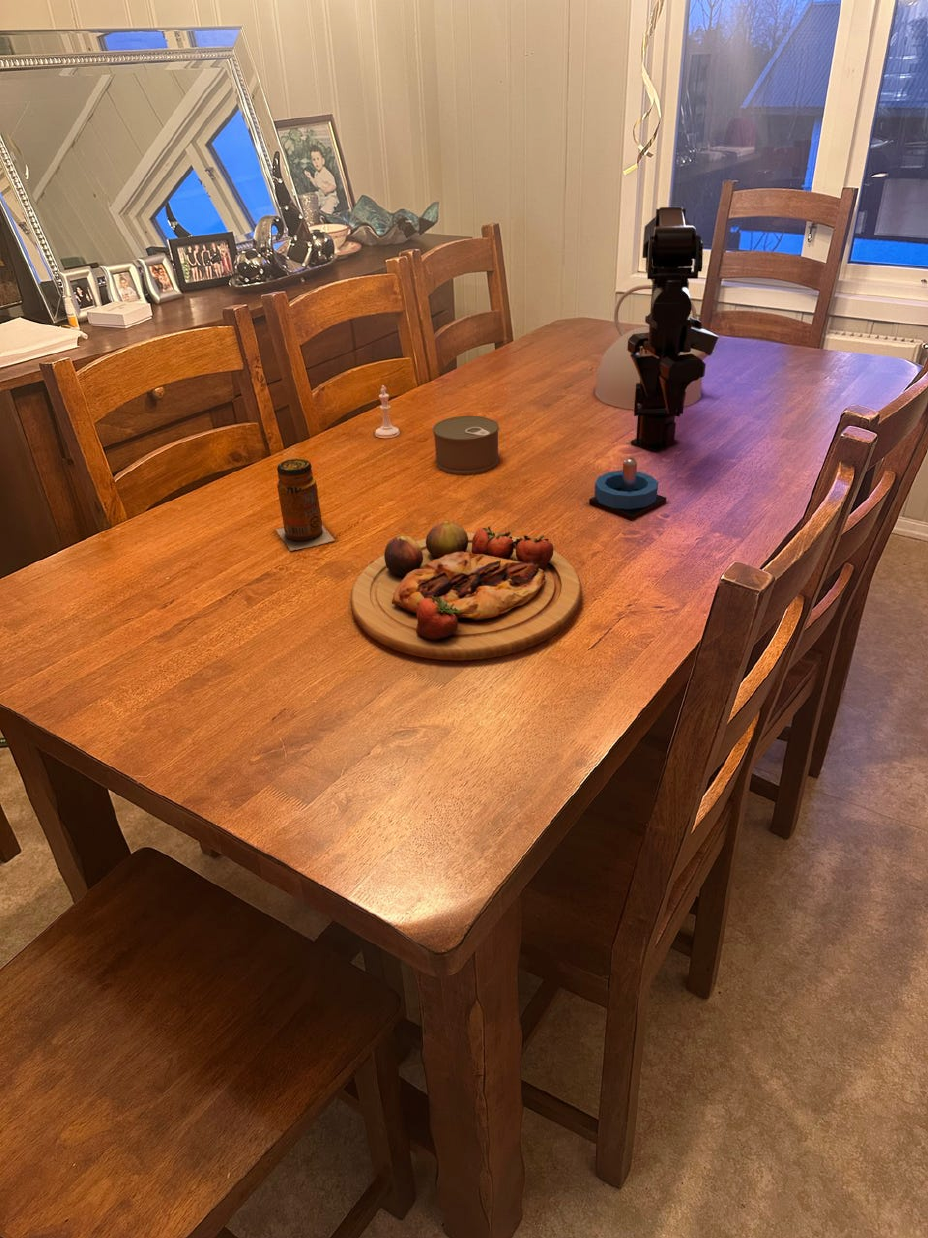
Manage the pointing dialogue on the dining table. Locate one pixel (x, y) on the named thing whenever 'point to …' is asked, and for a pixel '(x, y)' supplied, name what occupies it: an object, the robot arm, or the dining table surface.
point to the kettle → (632, 367)
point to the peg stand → (629, 486)
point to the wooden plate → (465, 594)
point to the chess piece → (386, 418)
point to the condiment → (300, 506)
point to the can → (466, 444)
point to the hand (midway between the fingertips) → (660, 405)
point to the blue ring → (626, 499)
